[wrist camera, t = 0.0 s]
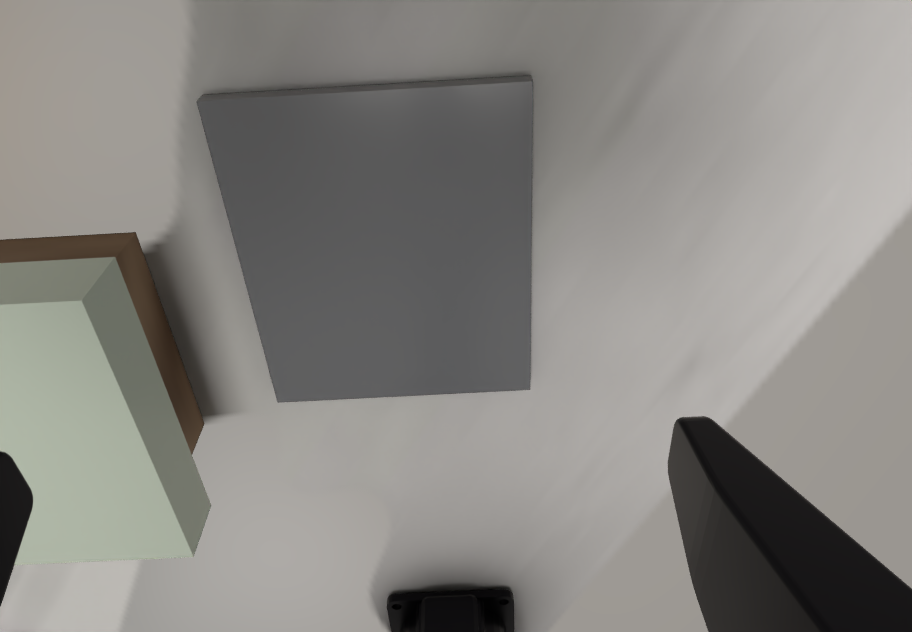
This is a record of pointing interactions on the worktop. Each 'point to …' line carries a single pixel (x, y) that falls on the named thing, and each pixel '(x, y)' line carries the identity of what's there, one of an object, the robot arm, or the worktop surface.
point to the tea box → (143, 300)
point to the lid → (91, 420)
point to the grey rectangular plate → (383, 233)
